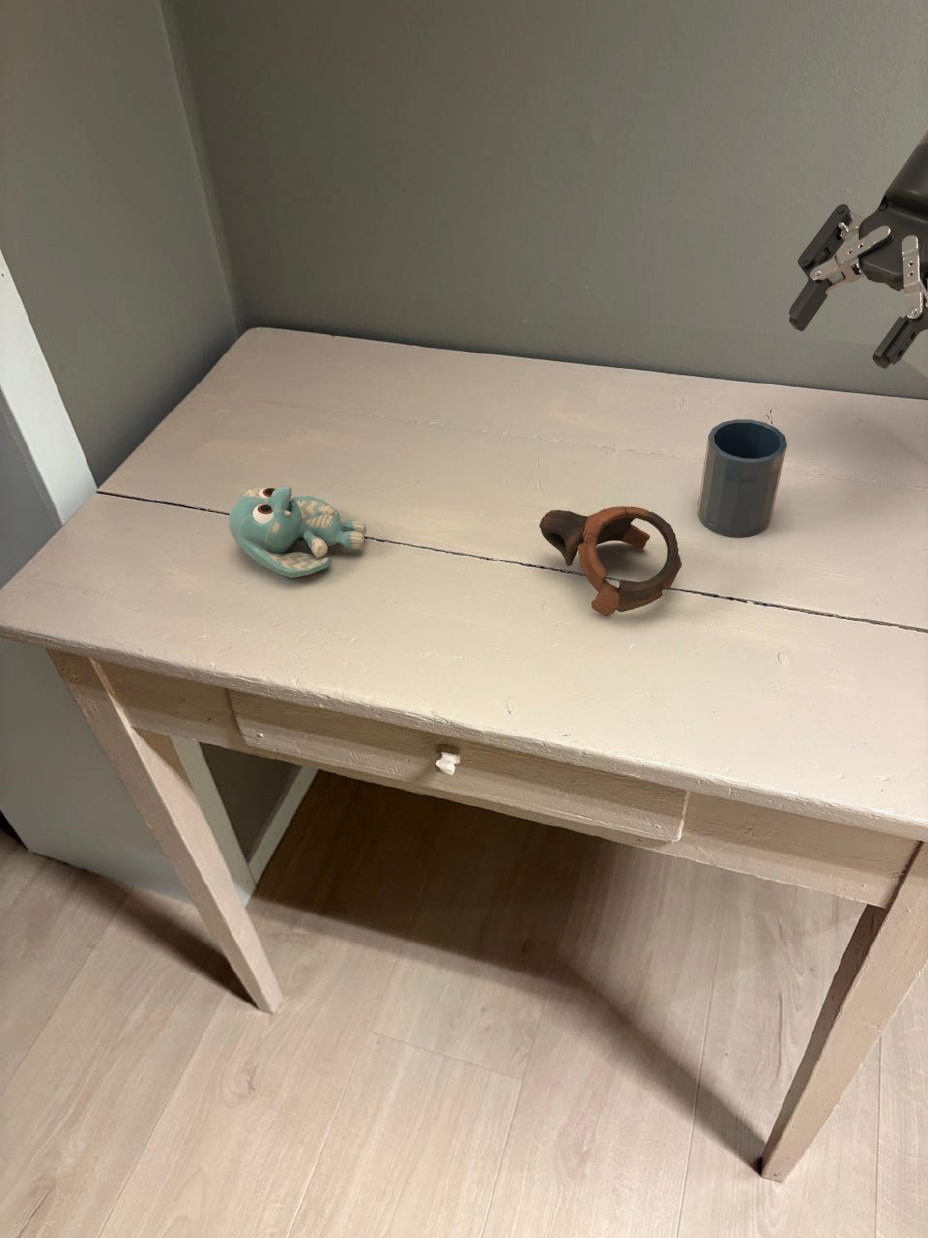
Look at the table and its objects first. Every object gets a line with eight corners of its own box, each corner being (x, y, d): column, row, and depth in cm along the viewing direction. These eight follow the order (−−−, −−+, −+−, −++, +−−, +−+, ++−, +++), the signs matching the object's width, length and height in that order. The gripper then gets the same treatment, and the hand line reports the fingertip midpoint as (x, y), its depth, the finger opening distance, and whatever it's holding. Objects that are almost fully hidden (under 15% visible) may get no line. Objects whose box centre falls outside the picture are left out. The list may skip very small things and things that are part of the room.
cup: (748, 487, 89) (762, 413, 84) (784, 528, 85) (801, 452, 79) (685, 502, 88) (695, 427, 83) (718, 544, 84) (731, 468, 78)
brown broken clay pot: (677, 549, 84) (703, 514, 76) (644, 647, 82) (668, 621, 74) (548, 502, 85) (561, 462, 77) (512, 597, 82) (521, 566, 74)
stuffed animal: (361, 538, 78) (213, 519, 77) (356, 601, 83) (217, 584, 82) (375, 462, 86) (240, 443, 85) (369, 524, 91) (242, 507, 90)
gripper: (870, 120, 79) (753, 296, 82) (1035, 164, 70) (897, 358, 74) (893, 171, 85) (783, 333, 88) (1048, 217, 76) (920, 394, 80)
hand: (835, 344), depth 81 cm, fingers open, 8 cm apart
